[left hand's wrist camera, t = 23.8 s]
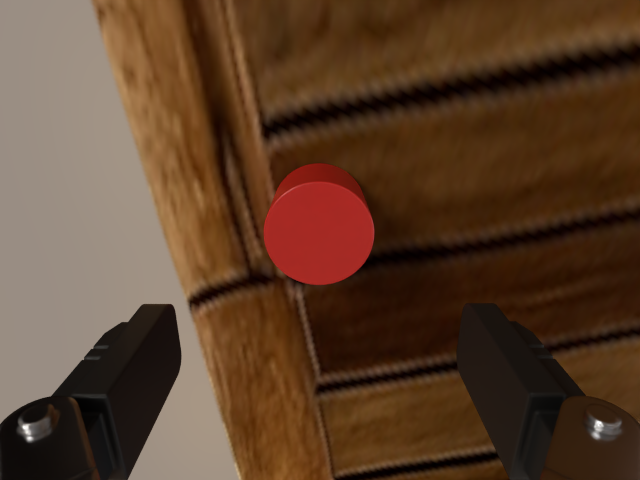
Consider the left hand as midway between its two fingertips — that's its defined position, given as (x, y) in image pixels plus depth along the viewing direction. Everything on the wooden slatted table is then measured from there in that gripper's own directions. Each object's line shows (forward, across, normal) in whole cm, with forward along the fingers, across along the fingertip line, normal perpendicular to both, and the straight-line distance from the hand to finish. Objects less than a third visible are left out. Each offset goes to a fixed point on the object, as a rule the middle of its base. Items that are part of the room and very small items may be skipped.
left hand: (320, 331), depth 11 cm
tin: (+12, 0, 0) cm, 12 cm away
